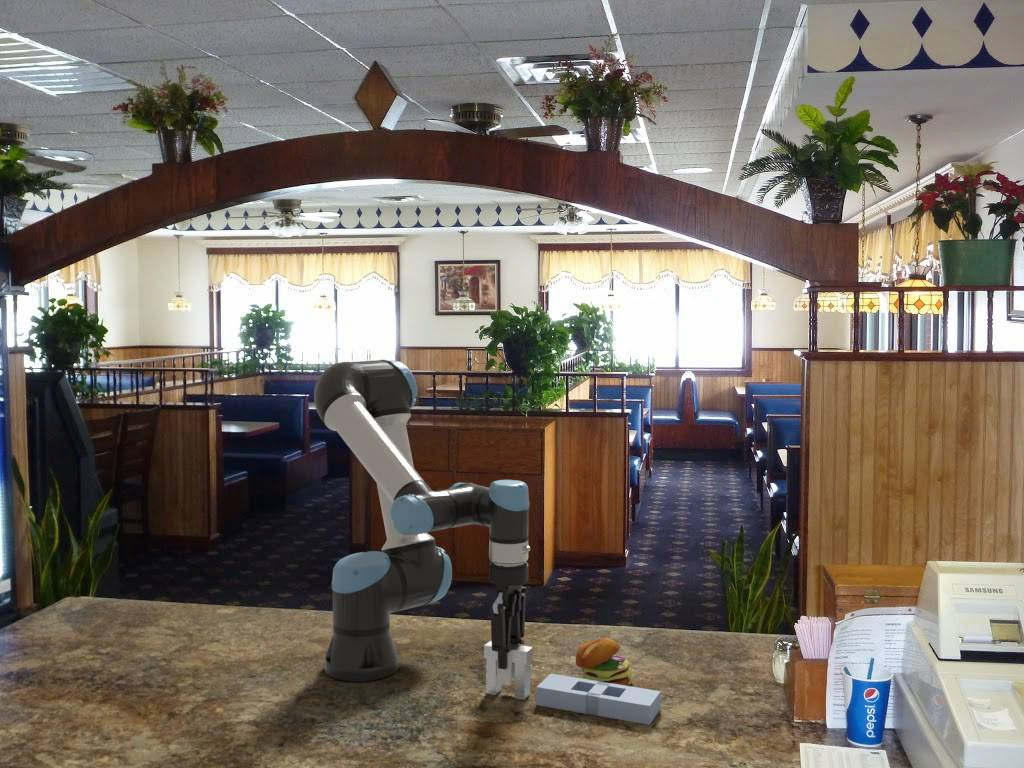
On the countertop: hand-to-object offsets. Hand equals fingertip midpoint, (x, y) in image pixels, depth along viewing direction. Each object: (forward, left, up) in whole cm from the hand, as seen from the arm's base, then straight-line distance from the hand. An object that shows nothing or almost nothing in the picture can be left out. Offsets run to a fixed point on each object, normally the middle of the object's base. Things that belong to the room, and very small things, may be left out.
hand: (508, 680), depth 196 cm
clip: (0, 0, -3) cm, 3 cm away
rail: (+18, +1, -3) cm, 18 cm away
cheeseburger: (+15, +13, -3) cm, 20 cm away
